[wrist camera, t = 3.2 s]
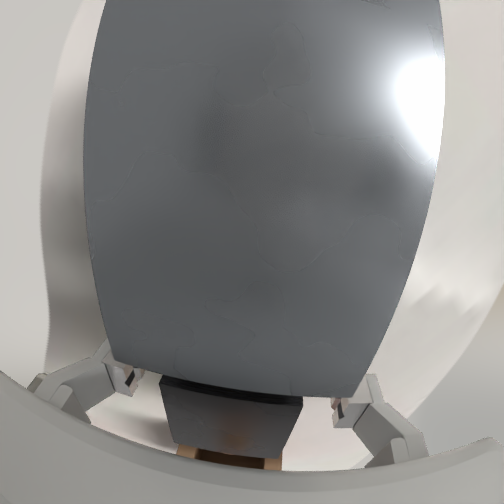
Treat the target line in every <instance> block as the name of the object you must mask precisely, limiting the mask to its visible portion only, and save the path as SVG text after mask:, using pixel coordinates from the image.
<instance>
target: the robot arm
mask: <svg viewBox="0 0 504 504" xmlns="http://www.w3.org/2000/svg"><path fill="white" fill-rule="evenodd" d="M144 372H145V370H144V369H141V368H137V367H134V366H131V365H127V364H124V363H121V362H118V361H115V360H114V357H113V354H112V351H111V347H110V344H109V341H108V337H107V338H106V339H105V341H104V342H103V343H102V345H101V346H100V347H99V349H98V350H97V351H96V353H95V354H94V355H93V357H92V358H86V359H84V360H82V361H79V362H77V363H75V364H72V365H70V366H68V367H65V368H63V369H60V370H58V371H55V372H53V373H51V374H48V375H47V376H46V377H45V378H44V380H43V381H42V382H41V384H40V385H39V386H38V388H37V389H36V390H35V392H34V393H32V392H30V391H29V390H27V389H26V388H24V387H23V386H21V385H20V384H18V383H17V382H15V381H14V380H13V379H11V378H10V377H8V376H7V375H6V374H4V373H3V372H2V371H0V504H504V446H503V445H502V444H501V443H499V442H498V441H497V440H495V439H493V438H491V437H487V438H483V439H481V440H478V441H476V442H473V443H470V444H468V445H465V446H462V447H459V448H456V449H453V450H450V451H446V452H443V453H439V454H436V455H432V456H429V454H428V450H427V447H426V444H425V440H424V437H423V434H422V433H421V432H420V431H419V430H418V429H417V428H416V427H415V426H413V425H412V424H411V423H410V422H409V421H408V420H407V419H406V418H404V417H403V416H402V415H401V414H400V413H399V412H398V411H396V410H395V409H394V408H393V407H392V406H391V405H390V404H389V403H385V402H384V399H383V395H382V392H381V389H380V386H379V382H378V379H377V376H376V375H375V374H365V375H364V377H363V379H362V381H361V383H360V385H359V386H358V388H357V390H356V392H355V393H354V395H353V397H352V398H331V407H332V408H333V409H334V413H333V415H332V418H333V427H334V428H353V430H354V432H355V433H356V434H357V436H358V437H359V438H360V439H361V441H362V442H363V443H364V444H365V446H366V447H367V448H368V450H369V451H370V452H371V453H372V455H373V456H374V458H373V459H372V460H371V461H370V462H369V463H367V465H366V466H365V468H361V469H351V470H337V471H279V470H265V469H254V468H245V467H237V466H230V465H224V464H218V463H213V462H207V461H202V460H197V459H193V458H189V457H184V456H180V455H176V454H172V453H169V452H165V451H162V450H158V449H155V448H152V447H148V446H145V445H142V444H139V443H136V442H133V441H131V440H128V439H125V438H122V437H120V436H117V435H115V434H112V433H110V432H107V431H105V430H102V429H100V428H98V427H96V426H93V425H91V421H90V419H89V417H88V416H87V414H86V413H85V411H87V410H88V409H90V408H92V407H93V406H95V405H96V404H98V403H99V402H101V401H103V400H104V399H106V398H107V397H109V396H110V395H112V394H113V393H115V392H118V393H121V394H125V395H128V396H131V397H132V396H133V394H134V392H135V390H136V389H137V387H138V384H137V381H138V380H140V379H141V378H142V377H143V375H144Z"/></svg>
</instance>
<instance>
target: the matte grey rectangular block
mask: <svg viewBox="0 0 504 504" xmlns="http://www.w3.org/2000/svg"><path fill="white" fill-rule="evenodd" d="M444 91H445V56H444V38H443V26H442V17H441V10H440V3H439V0H106V3H105V6H104V10H103V13H102V17H101V21H100V25H99V29H98V33H97V37H96V42H95V47H94V52H93V57H92V63H91V69H90V75H89V82H88V90H87V99H86V110H85V124H84V150H83V171H84V198H85V212H86V223H87V233H88V241H89V249H90V256H91V263H92V269H93V275H94V280H95V286H96V291H97V296H98V300H99V305H100V309H101V313H102V318H103V322H104V326H105V329H106V333H107V337H108V341H109V344H110V347H111V351H112V354H113V357H114V360H115V361H118V362H121V363H124V364H127V365H131V366H134V367H137V368H141V369H144V370H148V371H152V372H155V373H159V374H163V375H167V376H171V377H176V378H180V379H184V380H189V381H194V382H198V383H203V384H209V385H214V386H220V387H226V388H232V389H238V390H245V391H253V392H261V393H270V394H280V395H291V396H306V397H330V398H352V397H353V395H354V393H355V392H356V390H357V388H358V386H359V385H360V383H361V381H362V379H363V377H364V375H365V374H366V372H367V370H368V368H369V366H370V364H371V362H372V360H373V358H374V356H375V354H376V352H377V350H378V348H379V346H380V344H381V342H382V340H383V337H384V335H385V333H386V331H387V329H388V326H389V324H390V322H391V319H392V317H393V315H394V312H395V310H396V307H397V305H398V302H399V300H400V297H401V295H402V292H403V290H404V287H405V284H406V281H407V279H408V276H409V273H410V270H411V267H412V264H413V261H414V258H415V255H416V251H417V248H418V245H419V242H420V238H421V235H422V231H423V227H424V224H425V220H426V216H427V212H428V207H429V203H430V199H431V194H432V189H433V184H434V179H435V174H436V168H437V162H438V156H439V149H440V141H441V133H442V123H443V110H444Z"/></svg>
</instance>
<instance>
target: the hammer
mask: <svg viewBox="0 0 504 504" xmlns="http://www.w3.org/2000/svg"><path fill="white" fill-rule="evenodd" d="M159 386H160V390H161V395H162V399H163V403H164V407H165V411H166V415H167V419H168V423H169V426H170V430H171V433H172V437H173V440H174V443H178V444H182V445H187V446H191V447H195V448H200V449H205V450H210V451H215V452H221V453H225V454H230V455H241V456H249V457H258V458H270V459H278V458H279V456H280V454H281V452H282V450H283V448H284V446H285V444H286V442H287V440H288V438H289V436H290V434H291V432H292V430H293V428H294V425H295V423H296V421H297V419H298V417H299V414H300V412H301V410H302V408H303V396H291V395H280V394H270V393H261V392H253V391H245V390H238V389H232V388H226V387H220V386H214V385H209V384H203V383H198V382H194V381H189V380H184V379H180V378H176V377H171V376H167V375H163V376H162V378H161V380H160V382H159Z"/></svg>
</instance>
